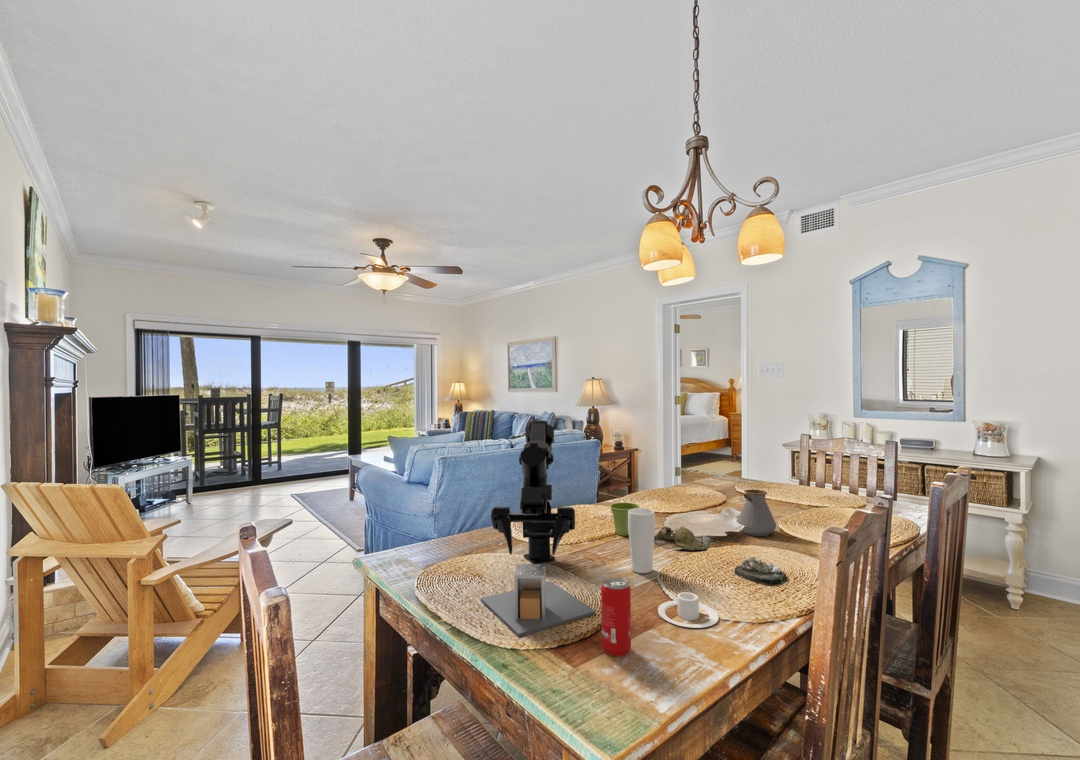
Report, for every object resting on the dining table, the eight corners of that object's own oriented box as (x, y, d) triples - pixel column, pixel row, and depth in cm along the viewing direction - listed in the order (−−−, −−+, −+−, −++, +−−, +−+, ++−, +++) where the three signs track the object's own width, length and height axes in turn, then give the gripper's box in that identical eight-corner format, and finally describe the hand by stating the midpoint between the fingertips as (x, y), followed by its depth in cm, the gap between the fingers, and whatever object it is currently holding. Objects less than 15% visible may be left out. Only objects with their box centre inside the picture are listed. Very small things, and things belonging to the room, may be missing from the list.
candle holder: (652, 603, 108) (652, 583, 108) (708, 603, 108) (708, 583, 108) (664, 631, 96) (664, 609, 96) (727, 631, 96) (727, 609, 96)
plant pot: (604, 534, 156) (604, 507, 156) (618, 527, 163) (617, 500, 163) (632, 540, 150) (632, 511, 150) (644, 532, 158) (644, 504, 158)
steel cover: (517, 606, 105) (517, 564, 105) (546, 606, 105) (545, 564, 105) (514, 620, 99) (514, 575, 99) (544, 620, 99) (544, 575, 99)
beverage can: (599, 643, 92) (598, 577, 92) (626, 641, 92) (626, 576, 92) (605, 658, 86) (604, 589, 86) (634, 657, 87) (633, 588, 87)
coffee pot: (741, 525, 164) (741, 479, 164) (779, 530, 158) (779, 483, 158) (724, 542, 147) (723, 492, 147) (766, 550, 140) (765, 496, 140)
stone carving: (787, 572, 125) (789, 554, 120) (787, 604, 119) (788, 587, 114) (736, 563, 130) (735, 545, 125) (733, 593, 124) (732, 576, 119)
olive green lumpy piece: (726, 551, 141) (726, 532, 141) (666, 555, 138) (666, 535, 138) (697, 533, 159) (697, 516, 159) (643, 535, 156) (643, 518, 156)
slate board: (480, 600, 110) (480, 598, 110) (550, 583, 119) (550, 581, 119) (518, 637, 94) (518, 633, 94) (595, 613, 103) (595, 611, 103)
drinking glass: (656, 576, 122) (655, 515, 122) (628, 574, 124) (627, 514, 124) (655, 566, 129) (654, 508, 129) (628, 564, 130) (628, 507, 130)
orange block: (521, 609, 104) (521, 590, 104) (541, 609, 104) (540, 590, 104) (520, 618, 100) (520, 598, 100) (540, 618, 100) (539, 598, 100)
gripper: (491, 471, 113) (484, 535, 102) (574, 471, 112) (575, 535, 101) (497, 498, 120) (490, 560, 109) (574, 498, 119) (575, 561, 108)
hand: (531, 553), depth 107 cm, fingers open, 9 cm apart
